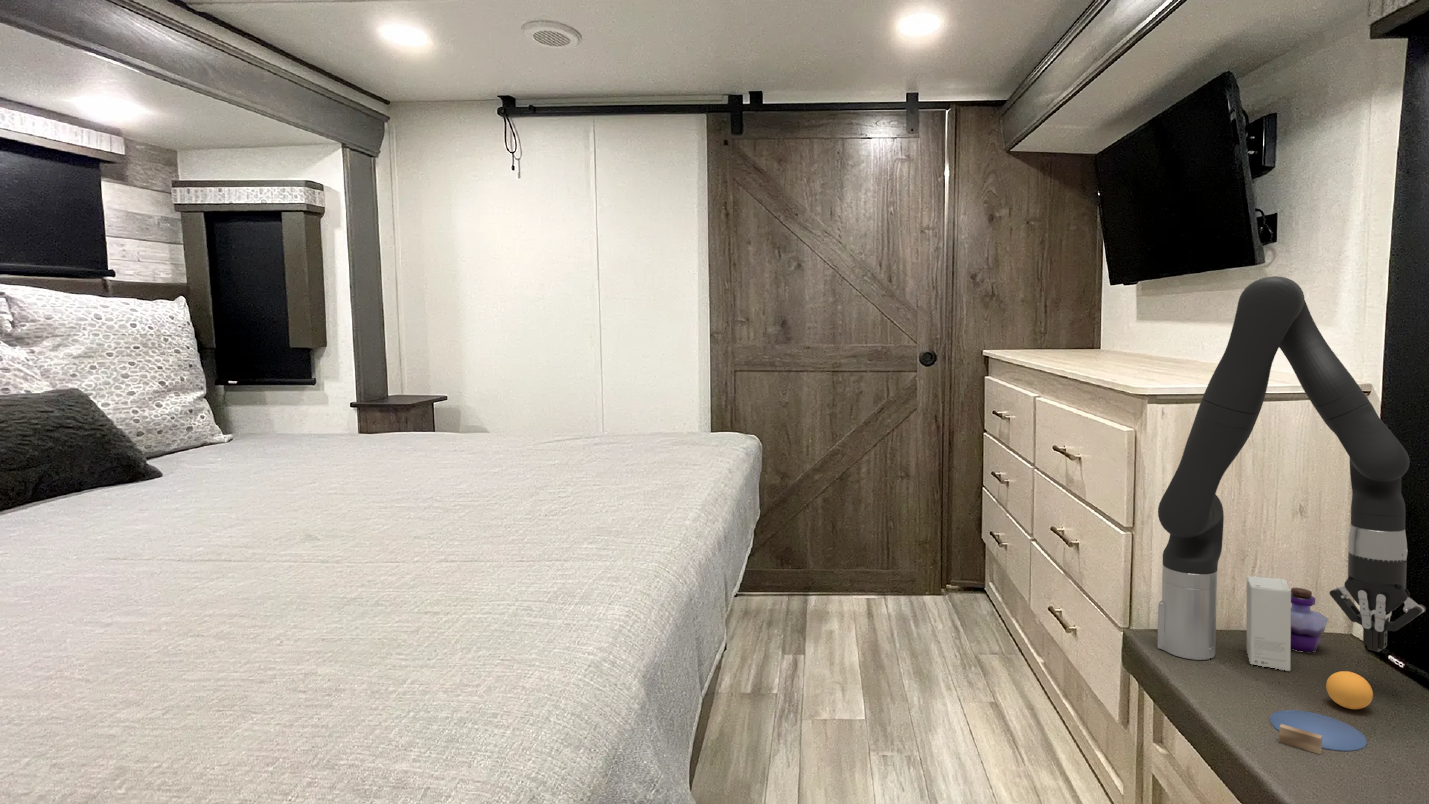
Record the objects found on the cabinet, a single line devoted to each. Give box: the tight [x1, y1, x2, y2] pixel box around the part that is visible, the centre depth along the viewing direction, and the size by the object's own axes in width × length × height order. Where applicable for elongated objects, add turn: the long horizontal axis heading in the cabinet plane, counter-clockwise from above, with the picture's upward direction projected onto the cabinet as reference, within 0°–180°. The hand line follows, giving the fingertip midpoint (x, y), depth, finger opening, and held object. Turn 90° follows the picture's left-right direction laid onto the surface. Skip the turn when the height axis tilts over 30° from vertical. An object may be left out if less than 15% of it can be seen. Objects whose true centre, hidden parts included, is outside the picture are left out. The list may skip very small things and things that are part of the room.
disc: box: [1269, 709, 1367, 752], centre depth 118 cm, size 12×12×1 cm
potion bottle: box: [1290, 587, 1329, 652], centre depth 148 cm, size 9×9×12 cm
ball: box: [1325, 670, 1374, 710], centre depth 125 cm, size 6×6×6 cm
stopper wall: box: [1278, 724, 1323, 755], centre depth 114 cm, size 5×1×2 cm, turn 43°
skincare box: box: [1246, 575, 1292, 672], centre depth 142 cm, size 8×7×16 cm
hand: (1375, 649), depth 129 cm, fingers closed
